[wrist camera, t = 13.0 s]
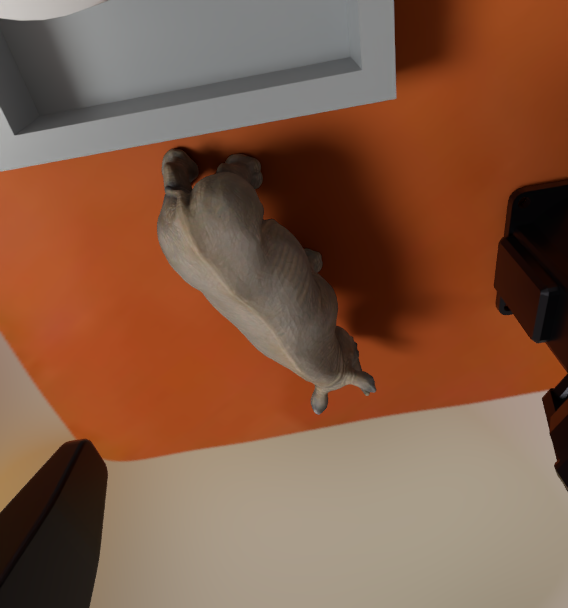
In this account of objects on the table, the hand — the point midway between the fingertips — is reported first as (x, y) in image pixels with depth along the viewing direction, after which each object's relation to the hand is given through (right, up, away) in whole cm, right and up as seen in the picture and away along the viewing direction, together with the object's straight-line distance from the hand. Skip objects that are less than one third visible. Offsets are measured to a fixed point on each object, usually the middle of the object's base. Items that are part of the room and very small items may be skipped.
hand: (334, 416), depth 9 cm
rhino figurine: (-1, +4, +14) cm, 14 cm away
